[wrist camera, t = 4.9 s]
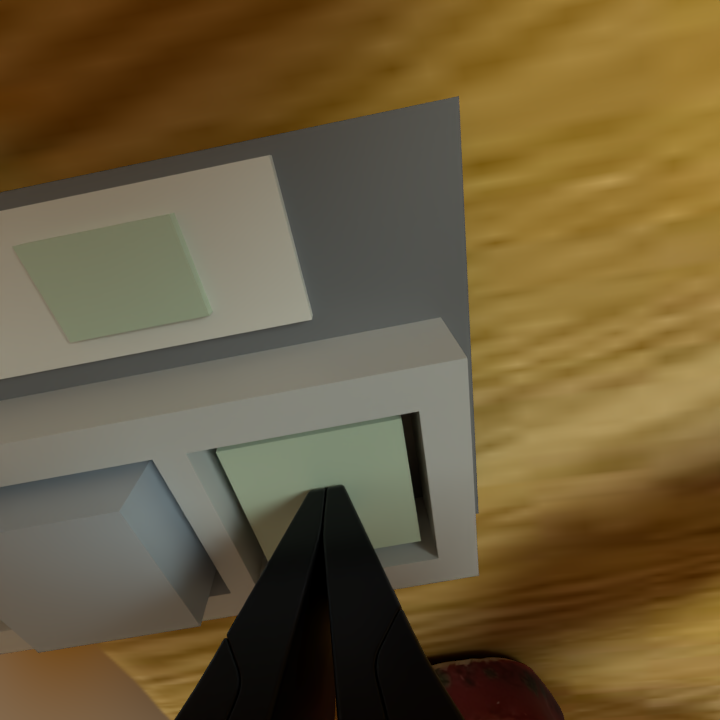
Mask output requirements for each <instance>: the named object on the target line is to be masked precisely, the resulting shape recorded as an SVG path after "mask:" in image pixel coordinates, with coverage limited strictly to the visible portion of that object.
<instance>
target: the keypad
mask: <svg viewBox="0 0 720 720" xmlns="http://www.w3.org/2000/svg"><path fill="white" fill-rule="evenodd" d="M396 415H401V419H402V425H403V431H404V438H405V444H406V450H407V456H408V463H409V469H410V475H411V481H412V487H413V494H414V500H415V506H416V512H417V519H418V525H419V531H420V537H421V541H418V542H412V543H406V544H400V545H394V546H388V547H382V548H376V549H374V550H375V552H376V554H377V556H378V558H379V560H380V562H381V564H382V567H383V569H384V571H385V573H386V575H387V577H388V579H389V581H390V584H391V586H392V588H393V590H394V589H400V588H406V587H412V586H418V585H424V584H430V583H437V582H443V581H449V580H455V579H461V578H467V577H473V576H479V571H478V552H477V533H476V514H477V513H478V495H477V473H476V452H475V431H474V409H473V388H472V367H471V345H470V324H469V303H468V281H467V260H466V239H465V217H464V196H463V175H462V153H461V132H460V111H459V96H458V97H453V98H448V99H444V100H439V101H434V102H429V103H425V104H420V105H415V106H410V107H405V108H401V109H396V110H391V111H386V112H382V113H377V114H372V115H367V116H363V117H358V118H353V119H348V120H344V121H339V122H334V123H329V124H324V125H320V126H315V127H310V128H305V129H301V130H296V131H291V132H286V133H282V134H277V135H272V136H267V137H263V138H258V139H253V140H248V141H244V142H239V143H234V144H229V145H224V146H220V147H215V148H210V149H205V150H201V151H196V152H191V153H186V154H182V155H177V156H172V157H167V158H163V159H158V160H153V161H148V162H143V163H139V164H134V165H129V166H124V167H120V168H115V169H110V170H105V171H101V172H96V173H91V174H86V175H82V176H77V177H72V178H67V179H62V180H58V181H53V182H48V183H43V184H39V185H34V186H29V187H24V188H20V189H15V190H10V191H5V192H1V193H0V487H4V486H9V485H15V484H20V483H26V482H31V481H37V480H43V479H48V478H54V477H59V476H65V475H70V474H76V473H81V472H87V471H92V470H98V469H103V468H109V467H114V466H120V465H125V464H131V463H136V462H142V461H147V460H153V462H154V463H155V465H156V467H157V468H158V470H159V472H160V473H161V475H162V477H163V479H164V480H165V482H166V484H167V485H168V487H169V489H170V490H171V492H172V494H173V495H174V497H175V499H176V501H177V502H178V504H179V506H180V507H181V509H182V511H183V512H184V514H185V516H186V518H187V519H188V521H189V523H190V524H191V526H192V528H193V529H194V531H195V533H196V534H197V536H198V538H199V540H200V541H201V543H202V545H203V546H204V548H205V550H206V551H207V553H208V555H209V557H210V558H211V560H212V562H213V563H214V565H215V567H216V568H217V570H216V574H215V577H214V581H213V584H212V587H211V591H210V594H209V598H208V601H207V605H206V608H205V612H204V615H203V619H202V621H206V620H212V619H218V618H224V617H230V616H236V615H238V614H239V612H240V610H241V609H242V607H243V605H244V603H245V602H246V600H247V598H248V596H249V595H250V593H251V591H252V589H253V588H254V586H255V584H256V582H257V581H258V579H259V577H260V575H261V574H262V572H263V570H264V568H265V567H266V565H267V563H268V561H267V558H266V556H265V554H264V552H263V550H262V548H261V546H260V544H259V542H258V540H257V537H256V535H255V533H254V531H253V529H252V527H251V525H250V523H249V521H248V519H247V517H246V514H245V512H244V510H243V508H242V506H241V504H240V502H239V500H238V498H237V496H236V493H235V491H234V489H233V487H232V485H231V483H230V481H229V479H228V477H227V475H226V473H225V470H224V468H223V466H222V464H221V462H220V460H219V458H218V456H217V454H216V450H217V448H219V447H225V446H230V445H236V444H241V443H247V442H252V441H258V440H263V439H269V438H274V437H280V436H285V435H291V434H296V433H302V432H307V431H313V430H319V429H324V428H330V427H335V426H341V425H346V424H352V423H357V422H363V421H368V420H374V419H379V418H385V417H390V416H396ZM30 649H34V648H32V647H31V646H30V645H29V644H28V643H27V642H25V641H24V640H23V639H22V638H21V637H20V636H19V635H17V634H16V633H15V632H14V631H13V630H12V629H10V628H9V627H8V626H7V625H6V624H5V623H4V622H2V621H1V620H0V654H5V653H12V652H18V651H24V650H30Z"/></svg>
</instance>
